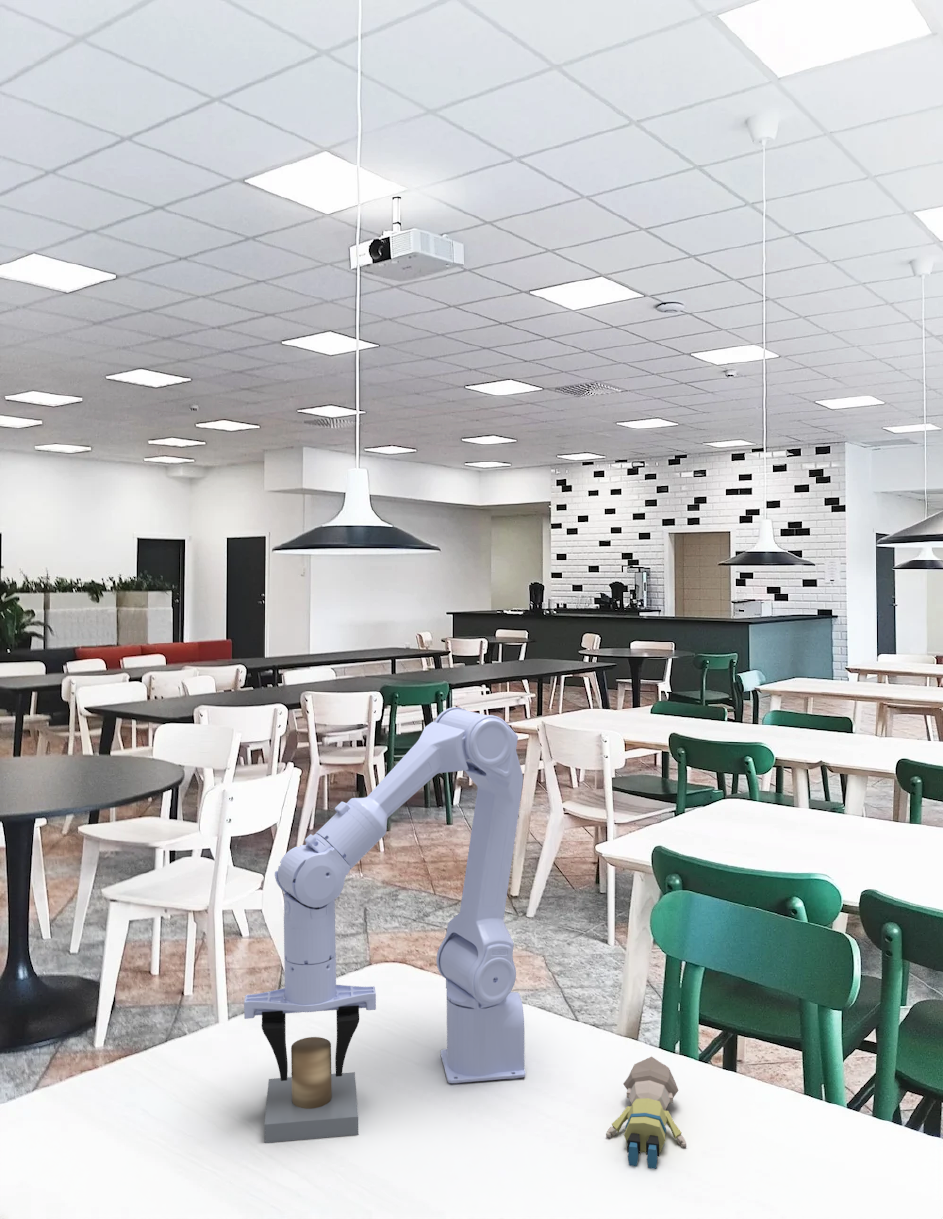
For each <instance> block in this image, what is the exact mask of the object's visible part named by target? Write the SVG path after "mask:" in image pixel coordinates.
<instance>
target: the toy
mask: <svg viewBox="0 0 943 1219" xmlns="http://www.w3.org/2000/svg"><path fill="white" fill-rule="evenodd" d="M623 1085H624V1087H625V1089H626V1098H627V1099H629V1100H630V1101H629V1102H630V1104H631V1105H630V1106H629V1105H628V1106H626V1107H625V1109H624V1110H623V1112H622V1113H621V1114H620V1116H618V1117H617V1118H616V1119H615V1120H614V1121H613V1122H612V1123H611V1125H612V1126H610V1127H609V1128H608V1130H607V1131H606V1133H605V1137H606V1138H609V1139H612V1138H614V1137H615V1135H616V1134H617V1133H619V1132H620V1131H621V1129H622V1126H623V1125H624V1123H626V1122H627V1123H626V1124H625V1132H624V1134H623V1136H624V1139H625V1141H626V1147H627V1148H626V1149H627V1151H626V1152H627V1153H628V1154H627V1158H628V1165H629V1166H630V1167H637V1166H638V1162H639V1161H638V1160H639V1155H641V1153H645V1155H646V1156H647V1157H646V1160H647V1161H646V1162H647V1167H648V1169H654V1170H656V1169H657V1165H658V1157H660V1154H661V1151H662V1149H663V1147H664V1144H665V1143H666V1133H667V1128H666V1125H667V1126H668V1128H669V1129H670V1131H671V1134H672V1136H673V1139H674V1140H676V1141H677V1143H678V1145H679V1146H680V1147H681V1148H686V1147H687V1141H686V1139H685V1138H684V1136H683V1135H682V1131H681V1130H680V1129H679V1127H678V1126H677V1125H676V1123H675V1122H674V1120H673V1117H672V1116H671V1114H670V1111H669V1110H667V1108H668V1105H669V1104H673V1103H674V1098H675V1096H676V1095H677V1093H678V1091H679V1088H678V1085H677V1082H676V1081H675V1078H674V1076H673V1074H672V1072H671V1069H670V1067H668V1066H667V1065H666V1064H664V1063H662V1062H661V1061H659V1060H657V1059H656V1058H655V1057H653V1056H650V1057H648V1058H646V1059H643V1060H641V1061H639V1062H637V1063H634V1065H633V1067H632V1069H631V1071H630V1072H629V1074H628V1076H627V1078H626V1080H625V1081H624V1082H623Z"/></svg>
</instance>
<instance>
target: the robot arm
mask: <svg viewBox="0 0 943 1219" xmlns="http://www.w3.org/2000/svg"><path fill="white" fill-rule="evenodd" d="M518 739H519V736H518V735H517V733H516V732H515V731H514V729H513V728H512V727H510V725H509V724H508V723H507V722H506V721H505V720H504V719H503V718H502V717H500V716H497V715H493V714H483V713H479V712H474V711H469V710H467V709H465V708H462V707H457V706H454V707H453V706H452V707H449V708H446V709H445V710H443V711H442V712H440V713H439V714H438V715H437V717H436V718H435V720H434V721H432V722H430V723H429V724H427V725H425V727H424V728H423V731H422V732H421V734H420V736H419V738H418V740H417V741H416V742H415V743H414V744H413V745H412V747H410V749H409V750H408V751H407V752H406V754H404V755H403V757H402V758H400V760H399V761H398V762H397V763H396V764H395V766H393V767H392V769H390V771H389V772H388V773H387V774H386V776H385V777H383V779H382V780H381V781H380V782H379V783H378V784H377V785H376V787H375V788H374V789H373V790H372V791H370V793H369V794H368V795H367V796H364V797H352V798H350V799H349V800H348V801H347V802H344V801H340V803H338V804H337V805H336V806H335V807H334V810H335V814H334V815H333V816H331V818H330V819H329V820H328V821H327V822H326V823H325V824H323V826H321V827H320V828H319V829H318V830H317V831H316V832H315V833H314V834H312V833H310V834H309V835H307V837H306V838H305V839H304V842H305V844H301V845H299V846H294V847H293V848H291V849H289V850H288V851H287V852H286V853H285V854H284V855H283V856H282V858H281V860H280V865H278V867H277V868H278V869H277V870H276V871H275V870H274V871H275V872H274V877H275V882H276V884H277V885H278V887H279V888H280V890H282V891H283V912H284V913H283V944H284V945H283V953H284V954H283V955H284V959H283V960H284V962H283V963H284V964H283V965H284V987H283V988H280V989H279V988H278V989H274V990H270V991H269V990H268V991H265V992H264V991H263V992H258V993H251V994H250V993H249V994H245V995H244V1000H243V1007H244V1008H243V1012H244V1015H243V1018H244V1019H248V1020H249V1019H254V1018H255V1016H261V1029H262V1032H263V1034H264V1036H265V1038H266V1040H267V1042H268V1043H269V1045H270V1047H271V1050H272V1051H273V1055H274V1056H275V1057H274V1058H275V1059H276V1063H277V1067H278V1071H279V1078H281V1081H287V1077H288V1072H289V1071H288V1054H287V1053H288V1052H287V1043H286V1014H299V1013H314V1012H315V1013H316V1012H325V1011H336V1044H335V1045H336V1046H335V1057H334V1058H335V1066H334V1067H335V1074H336V1077H338V1076H342V1073H343V1069H344V1064H345V1058H346V1054H347V1052H348V1048H349V1045H350V1043H351V1040H352V1038H353V1035H354V1034H355V1032H356V1029H357V1027H358V1025H359V1022H360V1009H366V1011H376V1009H377V992H376V986H375V985H374V986H356V985H347V984H346V985H343V984H337V954H336V953H337V952H336V951H337V949H336V946H337V944H336V943H337V941H336V899H337V898H339V897H340V895H341V894H342V892H343V889H344V885H345V882H346V881H345V880H346V877H347V875H348V874H349V873H350V871H351V870H352V869H353V868H354V867H355V866H356V865H357V864H358V863H359V861H361V860H362V859H363V857H365V855H367V854H368V853H369V852H370V851H371V850H372V849H373V848H374V847H375V846H376V845H377V843H379V841H381V840H382V839H383V837H384V836H385V835H386V834H387V827H388V825H387V824H388V819H389V818H390V816H391V815H393V814H394V813H395V812H396V811H398V809H400V807H401V806H403V805H404V804H405V803H406V802H407V801H409V800H410V799H411V798H412V797H413V796H414V795H415V794H416V793H417V792H419V790H421V789H422V788H423V787H424V786H425V785H426V784H427V783H428V782H430V781H431V780H432V779H433V778H434V777H435V776H436V775H437V774H443V773H444V774H445V773H454V772H462V771H463V772H465V773H466V774H467V776H468V777H469V778H470V779H471V781H473V783H474V784H475V785H476V788H477V790H476V796H475V805H474V812H473V816H472V817H473V819H472V825H471V832H470V839H469V845H468V846H469V847H468V853H467V859H466V860H467V862H466V867H465V875H464V880H463V881H464V882H463V888H462V896H461V902H460V910H459V913H458V914H456V915H455V916H454V917H452V919H451V920H449V922H448V923H447V928H446V933H445V936H444V938H443V940H442V942H441V943H440V945H439V948H438V950H437V952H436V957H435V958H436V960H435V962H436V967H437V970H438V973H440V975H441V976H442V977H443V978H444V979H445V989H446V1048H444V1049H441V1050H440V1056H441V1060H442V1065H443V1068H444V1074H445V1076H446V1080H447V1082H448V1083H449V1084H458V1083H459V1084H460V1083H472V1082H484V1081H495V1080H496V1081H497V1080H508V1079H520V1078H525V1077H526V1076H527V1074H526V1073H527V1072H526V1069H525V1014H524V1006H523V1001H522V997H521V995H520V992H518V991H513V988H514V986H515V983H516V979H517V971H516V970H517V969H516V965H515V962H514V955H513V954H514V953H513V952H514V944H515V943H514V940H513V938H512V936H511V934H510V932H509V930H508V928H507V926H506V922H505V921H504V919H505V912H506V906H507V905H506V904H507V897H508V889H509V883H510V876H511V869H512V861H513V855H514V848H515V842H516V841H515V840H516V833H517V826H518V819H519V812H520V805H521V798H522V790H523V785H524V774H523V772H522V767H521V764H520V763H521V762H520V759H519V755H518V752H517V746H518V741H519V740H518Z"/></svg>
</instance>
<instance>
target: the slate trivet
mask: <svg viewBox="0 0 943 1219" xmlns="http://www.w3.org/2000/svg"><path fill="white" fill-rule="evenodd" d="M356 1083H357V1082H356V1072H355V1071H353V1072H342V1076H338V1077H336V1073H331V1086H332V1098H331V1100H330V1102H328V1103H327V1104H326V1105H324V1106H321V1107H318V1108H312V1109H305V1108H300V1107H297V1106H295V1105H294V1104H293V1102H292V1076H289V1077H288V1076H287V1081H281V1078H280V1077H274V1078H268V1084H267V1092H266V1094H267V1095H266V1102H265V1103H266V1106H265V1113H264V1114H265V1115H264V1116H265V1117H264V1125H263V1126H264V1143H267V1144H269V1143H277V1142H278V1143H279V1142H291V1141H301V1140H302V1141H303V1140H314V1139H324V1138H335V1137H336V1138H337V1137H347V1136H358V1135H359V1111H358V1108H359V1107H358V1098H357V1085H356Z"/></svg>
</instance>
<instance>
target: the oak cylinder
mask: <svg viewBox="0 0 943 1219" xmlns="http://www.w3.org/2000/svg"><path fill="white" fill-rule="evenodd" d="M290 1047H291V1048H290V1053H291V1054H290V1056H291V1057H290V1058H291V1061H290V1062H291V1063H290V1064H291V1077H292V1102H293V1104H294V1105H295V1106H297V1107H300V1108H305V1109H312V1108H318V1107H321V1106H324V1105H326V1104H327V1103H328V1102H330V1100H331V1098H332V1086H331V1074H332V1043H331V1042H330V1040H328V1039H326V1038H323V1037H320V1036H310V1037H303V1038H301V1039H298V1040H297V1041H294V1043H292V1045H291V1046H290Z"/></svg>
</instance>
